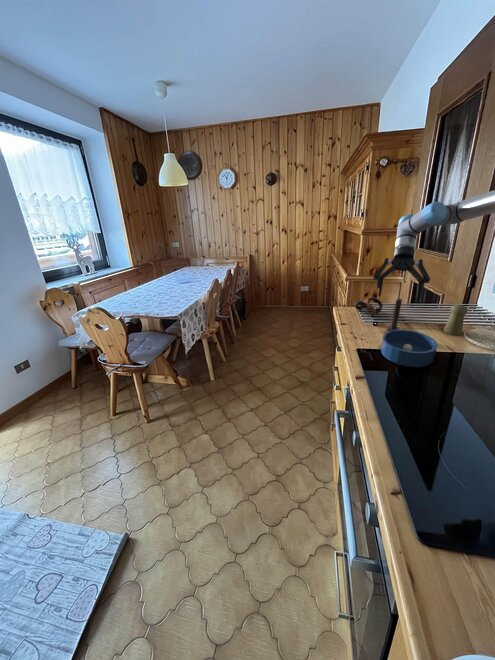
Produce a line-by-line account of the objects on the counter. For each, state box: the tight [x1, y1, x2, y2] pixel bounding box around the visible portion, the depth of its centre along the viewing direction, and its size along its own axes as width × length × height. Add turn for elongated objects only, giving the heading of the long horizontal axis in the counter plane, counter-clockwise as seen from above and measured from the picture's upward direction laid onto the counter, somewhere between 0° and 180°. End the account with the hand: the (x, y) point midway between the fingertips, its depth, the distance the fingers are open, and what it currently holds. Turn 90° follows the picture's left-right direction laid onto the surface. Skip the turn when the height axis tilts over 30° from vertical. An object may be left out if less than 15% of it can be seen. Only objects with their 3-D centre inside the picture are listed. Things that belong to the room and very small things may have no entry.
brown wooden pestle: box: [386, 298, 403, 332], centre depth 110 cm, size 4×4×15 cm
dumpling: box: [403, 344, 412, 351], centre depth 99 cm, size 3×3×3 cm
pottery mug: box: [354, 297, 383, 317], centre depth 132 cm, size 12×10×8 cm
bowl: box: [380, 329, 439, 368], centre depth 99 cm, size 17×17×6 cm
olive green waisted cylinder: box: [443, 304, 468, 336], centre depth 110 cm, size 6×6×11 cm
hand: (398, 296), depth 113 cm, fingers open, 13 cm apart
